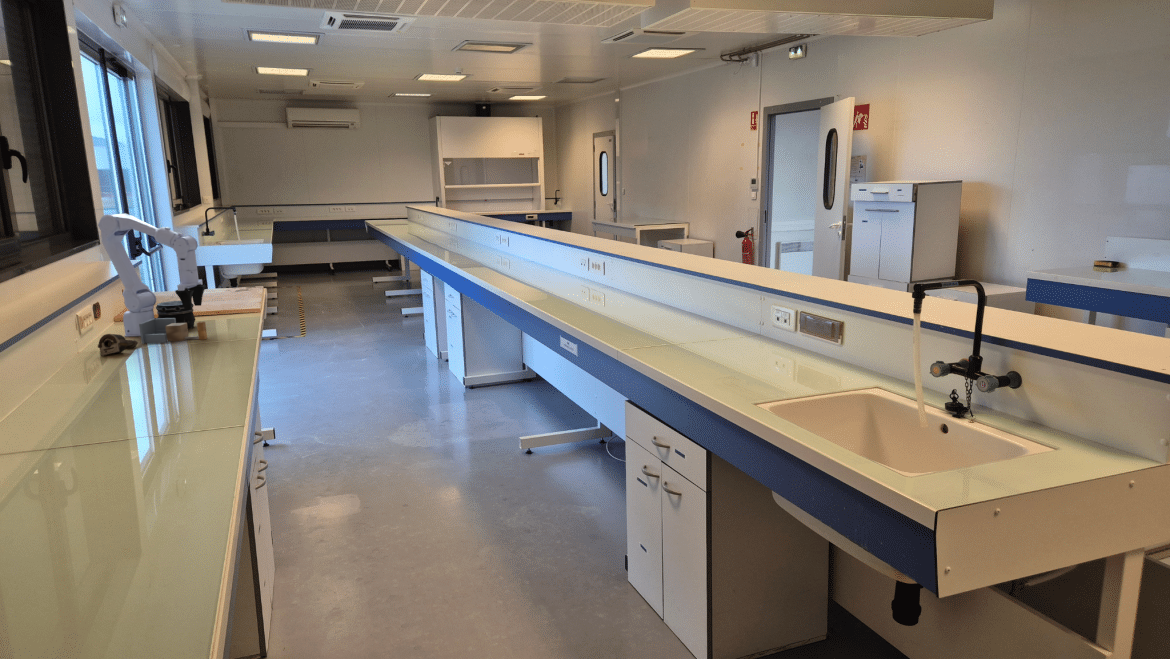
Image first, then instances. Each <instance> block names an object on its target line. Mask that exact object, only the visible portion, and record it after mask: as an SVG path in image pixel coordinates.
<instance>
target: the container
mask: <svg viewBox="0 0 1170 659" xmlns="http://www.w3.org/2000/svg"><path fill="white" fill-rule="evenodd" d="M194 306H195V305H194V303H192V308H191V309H184V307H183V304H182V302H181V300H172V301H163V302H159V303H157V304H156V306H155V309H156V311H157V312H156V314H157V315H158V316H157V319H161V318H175V319H176V323H187V327H188V330H190V329H193V328H194V327H195V321H196V318H195V315H194Z"/></svg>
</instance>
